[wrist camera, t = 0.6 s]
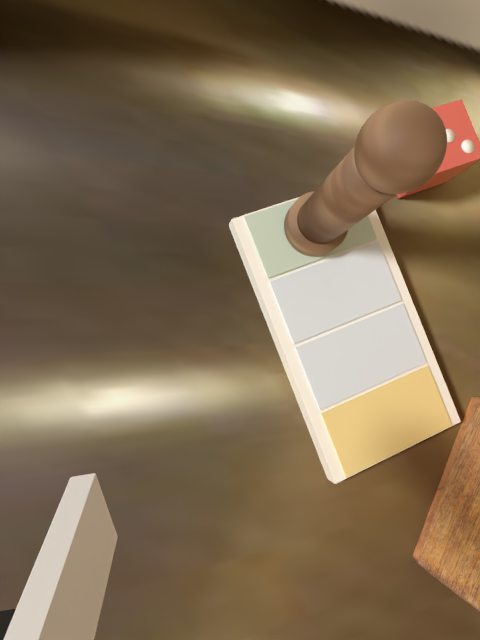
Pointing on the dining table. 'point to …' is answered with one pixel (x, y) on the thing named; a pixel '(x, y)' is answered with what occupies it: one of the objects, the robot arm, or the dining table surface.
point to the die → (454, 145)
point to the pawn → (369, 175)
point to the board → (346, 341)
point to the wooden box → (456, 516)
